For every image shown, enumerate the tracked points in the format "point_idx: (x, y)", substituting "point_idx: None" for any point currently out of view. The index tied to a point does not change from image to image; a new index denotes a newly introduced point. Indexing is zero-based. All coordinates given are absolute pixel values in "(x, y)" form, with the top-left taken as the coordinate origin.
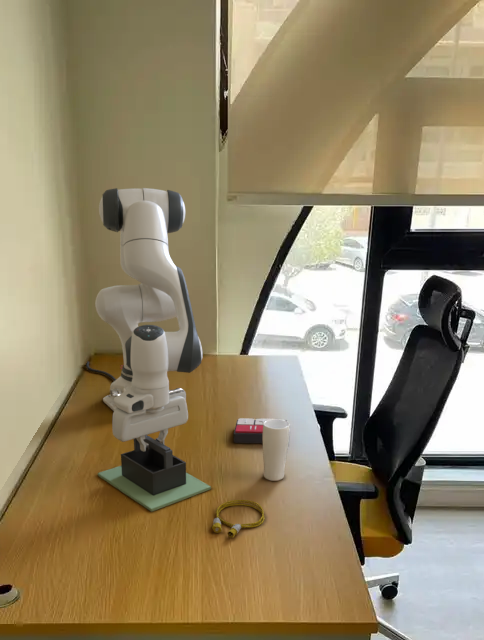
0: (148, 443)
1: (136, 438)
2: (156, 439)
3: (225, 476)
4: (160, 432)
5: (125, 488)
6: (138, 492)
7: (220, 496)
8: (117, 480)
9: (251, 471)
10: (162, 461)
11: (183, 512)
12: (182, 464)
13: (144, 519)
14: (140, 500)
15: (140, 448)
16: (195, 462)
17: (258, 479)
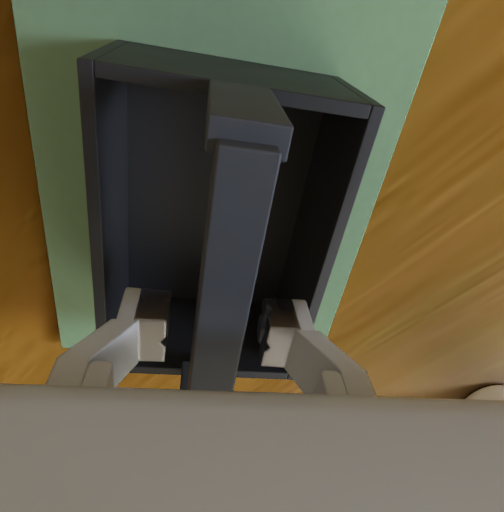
0: (196, 314)
1: (62, 361)
2: (267, 335)
3: (424, 326)
4: (325, 364)
5: (54, 176)
6: (86, 241)
7: (297, 388)
8: (60, 74)
9: (497, 351)
10: (318, 191)
11: (148, 387)
12: (275, 375)
13: (18, 354)
14: (57, 290)
15: (125, 292)
16: (486, 182)
17: (453, 387)
